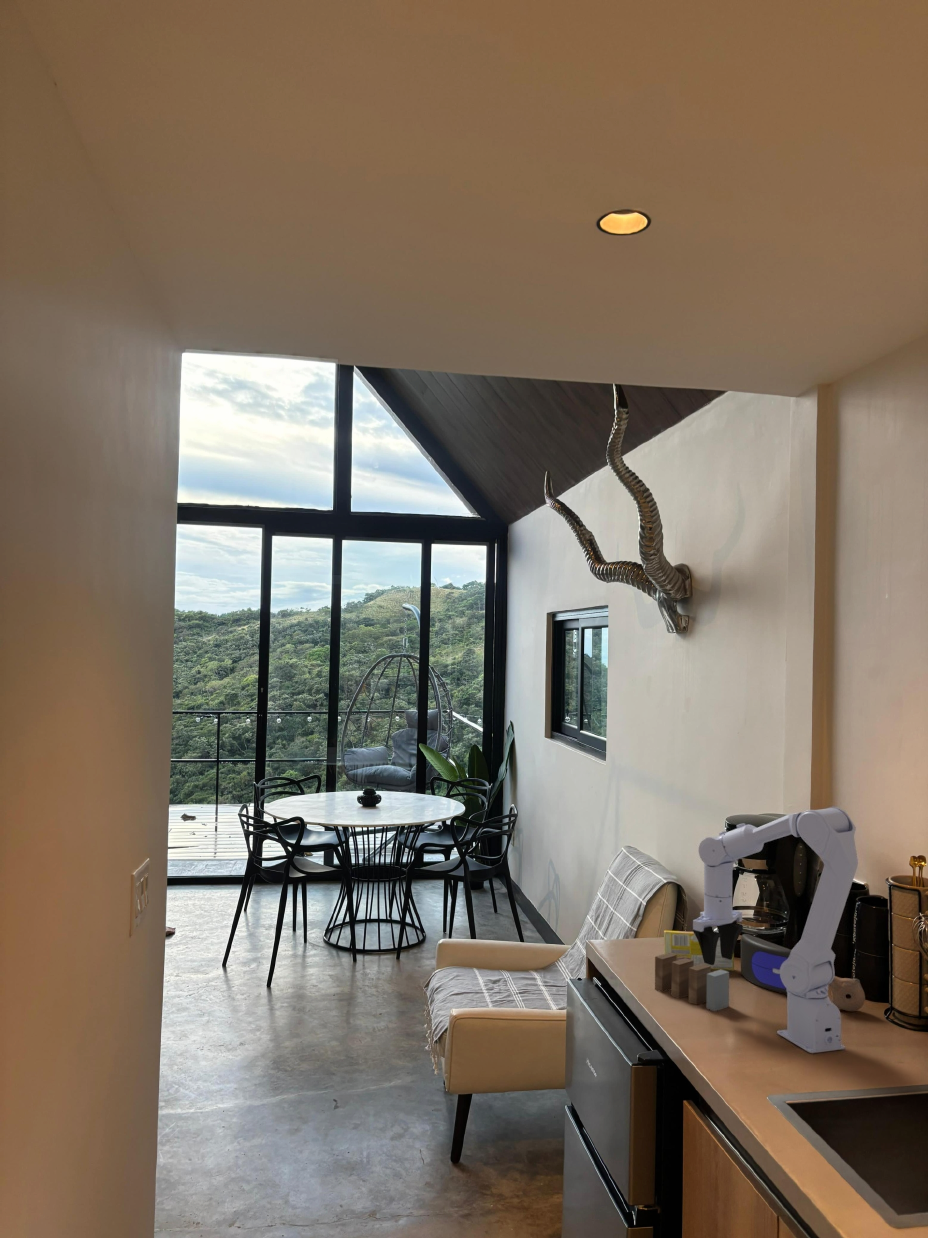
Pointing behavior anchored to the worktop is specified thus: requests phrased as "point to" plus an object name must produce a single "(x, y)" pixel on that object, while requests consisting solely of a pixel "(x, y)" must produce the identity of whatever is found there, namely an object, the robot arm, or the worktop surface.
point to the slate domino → (717, 990)
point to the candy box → (693, 949)
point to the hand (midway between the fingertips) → (718, 961)
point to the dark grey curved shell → (763, 962)
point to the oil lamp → (847, 993)
